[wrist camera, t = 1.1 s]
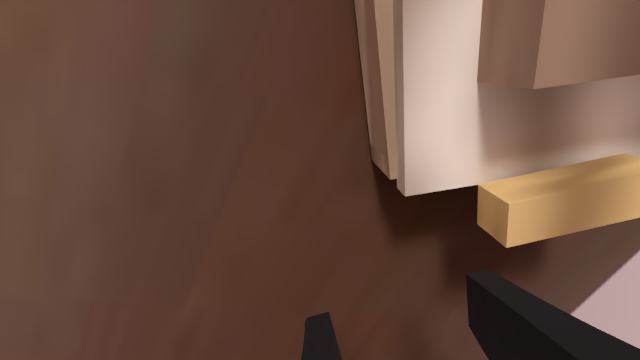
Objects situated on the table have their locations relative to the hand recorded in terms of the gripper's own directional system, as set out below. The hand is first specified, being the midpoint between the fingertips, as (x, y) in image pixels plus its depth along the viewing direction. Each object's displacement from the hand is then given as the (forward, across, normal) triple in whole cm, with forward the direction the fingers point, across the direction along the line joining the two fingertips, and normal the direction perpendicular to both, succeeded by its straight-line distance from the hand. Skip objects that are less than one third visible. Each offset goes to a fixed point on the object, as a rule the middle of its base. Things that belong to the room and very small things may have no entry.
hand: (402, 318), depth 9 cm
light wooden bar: (+5, -9, 0) cm, 10 cm away
